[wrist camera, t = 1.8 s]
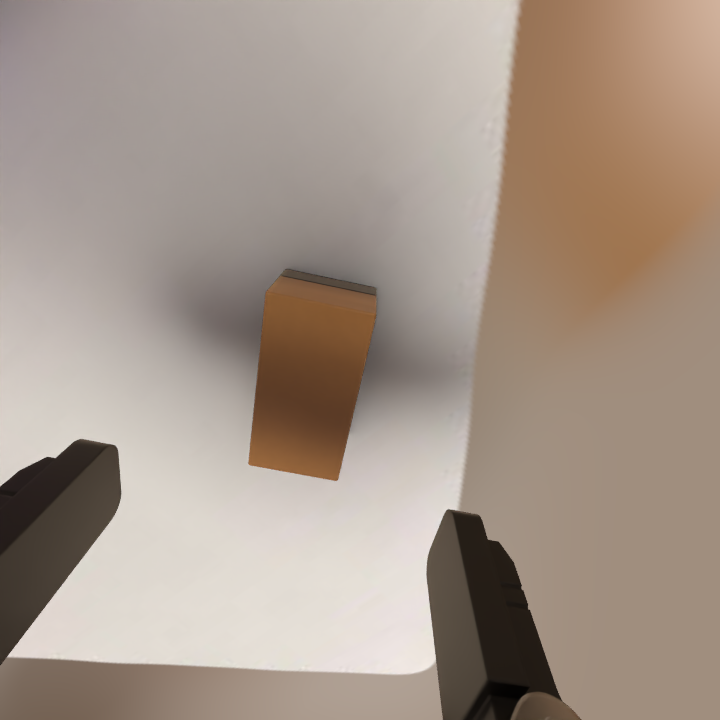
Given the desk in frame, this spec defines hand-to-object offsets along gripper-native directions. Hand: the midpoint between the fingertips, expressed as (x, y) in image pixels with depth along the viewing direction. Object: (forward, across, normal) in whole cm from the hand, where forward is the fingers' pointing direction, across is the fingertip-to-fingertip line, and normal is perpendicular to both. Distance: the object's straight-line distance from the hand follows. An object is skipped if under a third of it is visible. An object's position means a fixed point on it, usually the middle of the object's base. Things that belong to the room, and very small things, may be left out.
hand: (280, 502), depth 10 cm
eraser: (+8, 0, 0) cm, 8 cm away
